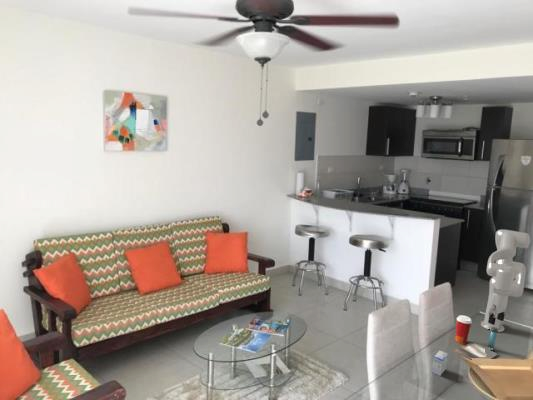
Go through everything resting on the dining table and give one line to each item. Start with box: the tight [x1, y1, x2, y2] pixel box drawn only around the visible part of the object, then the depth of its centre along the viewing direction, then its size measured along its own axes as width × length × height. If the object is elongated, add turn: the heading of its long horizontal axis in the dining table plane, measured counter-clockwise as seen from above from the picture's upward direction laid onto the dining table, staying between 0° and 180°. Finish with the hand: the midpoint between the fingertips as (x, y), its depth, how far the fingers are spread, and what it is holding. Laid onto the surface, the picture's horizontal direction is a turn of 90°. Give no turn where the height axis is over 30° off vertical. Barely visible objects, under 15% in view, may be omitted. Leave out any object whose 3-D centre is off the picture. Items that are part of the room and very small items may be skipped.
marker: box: [487, 327, 498, 349], centre depth 234 cm, size 3×3×12 cm
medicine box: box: [430, 350, 449, 377], centre depth 209 cm, size 8×4×9 cm, turn 141°
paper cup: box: [454, 315, 473, 345], centre depth 240 cm, size 8×8×14 cm
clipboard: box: [454, 341, 491, 359], centre depth 229 cm, size 18×14×2 cm
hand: (495, 321), depth 232 cm, fingers open, 9 cm apart
